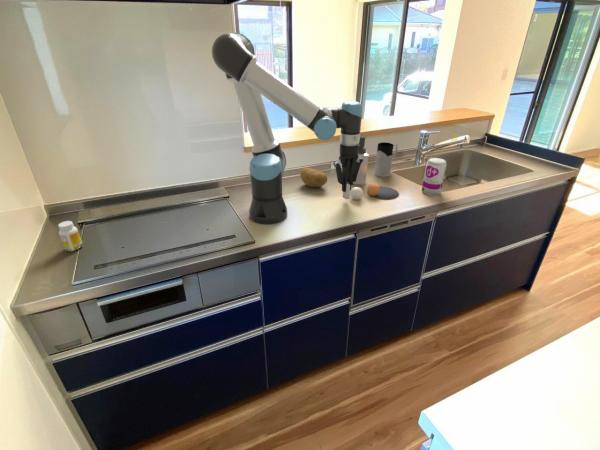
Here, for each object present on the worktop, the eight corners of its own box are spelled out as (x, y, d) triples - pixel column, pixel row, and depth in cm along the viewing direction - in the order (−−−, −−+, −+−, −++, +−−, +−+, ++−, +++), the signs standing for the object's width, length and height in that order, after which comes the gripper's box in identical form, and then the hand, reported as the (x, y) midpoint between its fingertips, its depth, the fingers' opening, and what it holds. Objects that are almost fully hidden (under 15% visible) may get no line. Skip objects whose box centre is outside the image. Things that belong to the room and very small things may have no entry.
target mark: (380, 202, 147) (380, 201, 147) (361, 190, 158) (361, 189, 158) (405, 195, 152) (405, 195, 152) (385, 184, 163) (385, 184, 163)
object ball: (371, 189, 147) (381, 183, 149) (363, 185, 152) (373, 179, 153) (373, 199, 151) (383, 193, 152) (365, 195, 155) (375, 189, 156)
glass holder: (369, 173, 177) (372, 144, 169) (387, 166, 184) (390, 139, 177) (383, 178, 171) (387, 148, 163) (400, 171, 179) (405, 142, 171)
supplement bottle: (64, 254, 114) (54, 229, 110) (66, 245, 119) (56, 221, 114) (82, 250, 116) (73, 225, 111) (84, 242, 121) (75, 218, 116)
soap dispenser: (363, 177, 171) (367, 133, 160) (365, 184, 164) (369, 138, 153) (350, 177, 172) (353, 133, 161) (351, 184, 164) (355, 138, 153)
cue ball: (362, 186, 145) (367, 195, 148) (354, 183, 149) (359, 191, 153) (353, 195, 144) (358, 203, 147) (345, 191, 149) (350, 200, 152)
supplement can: (433, 197, 151) (440, 164, 144) (417, 191, 157) (423, 159, 149) (444, 192, 155) (451, 160, 148) (428, 186, 161) (434, 156, 153)
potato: (319, 193, 155) (319, 177, 151) (296, 185, 163) (295, 169, 159) (332, 187, 161) (332, 171, 157) (309, 179, 170) (309, 164, 166)
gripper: (340, 148, 129) (337, 204, 141) (368, 143, 134) (363, 198, 146) (330, 143, 135) (328, 197, 147) (357, 138, 140) (353, 191, 152)
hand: (345, 197), depth 147 cm, fingers closed
